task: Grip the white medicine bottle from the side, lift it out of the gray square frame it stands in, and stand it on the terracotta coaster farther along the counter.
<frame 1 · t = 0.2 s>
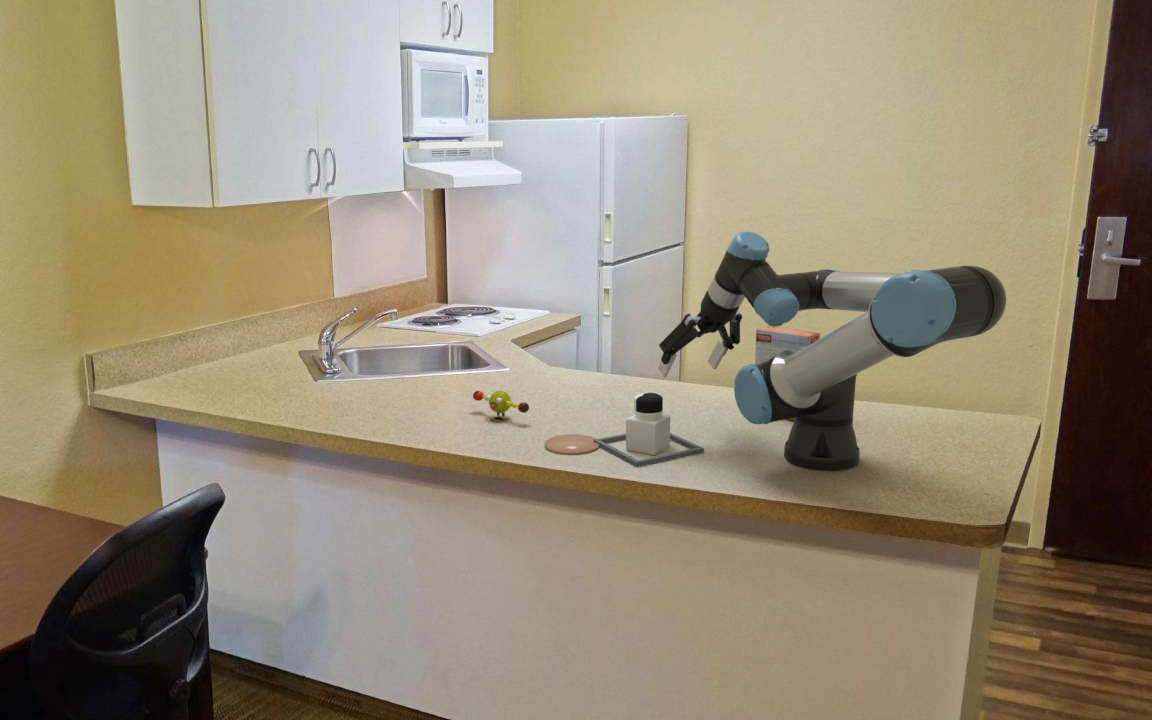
hand: (687, 368, 213), 15 cm above the worktop, tool tilted 35°, fingers open, 13 cm apart
medicine bottle: (648, 449, 206), resting in gray square frame
toy figure: (500, 419, 228), on the worktop
cracker box: (784, 416, 228), on the worktop
gray square frame: (648, 448, 206), on the worktop
coaster: (572, 445, 208), on the worktop
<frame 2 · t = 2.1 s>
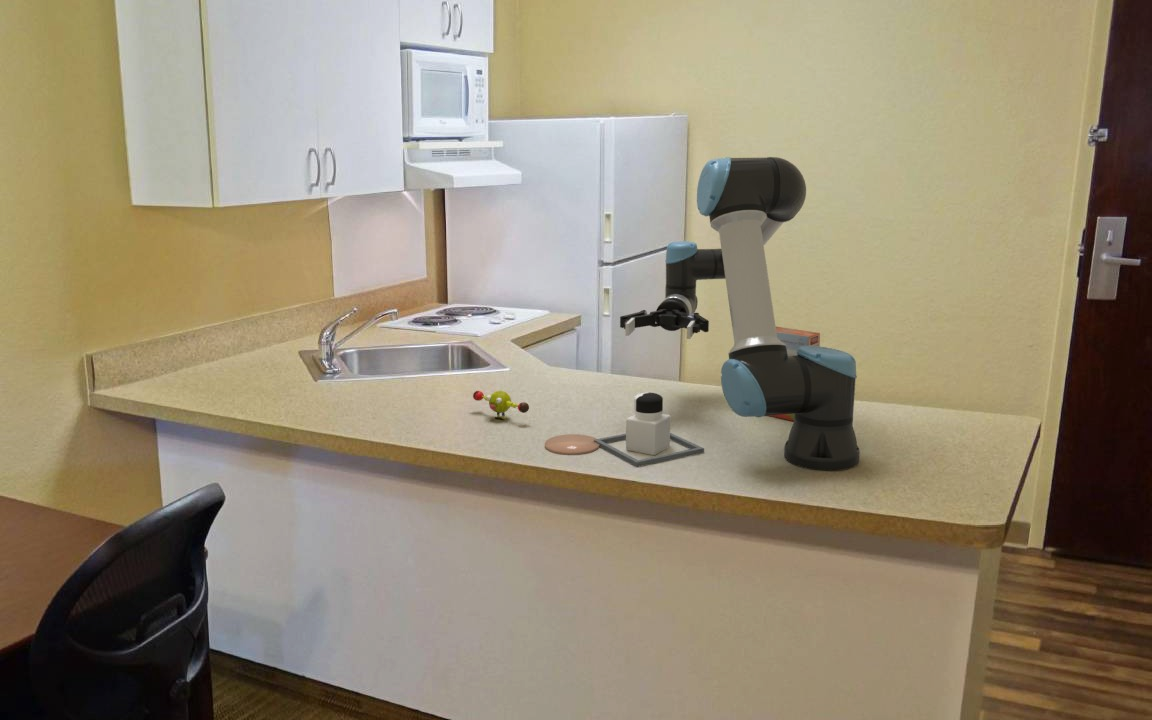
hand: (657, 331, 209), 24 cm above the worktop, tool horizontal, fingers open, 13 cm apart
nothing on the worktop moved.
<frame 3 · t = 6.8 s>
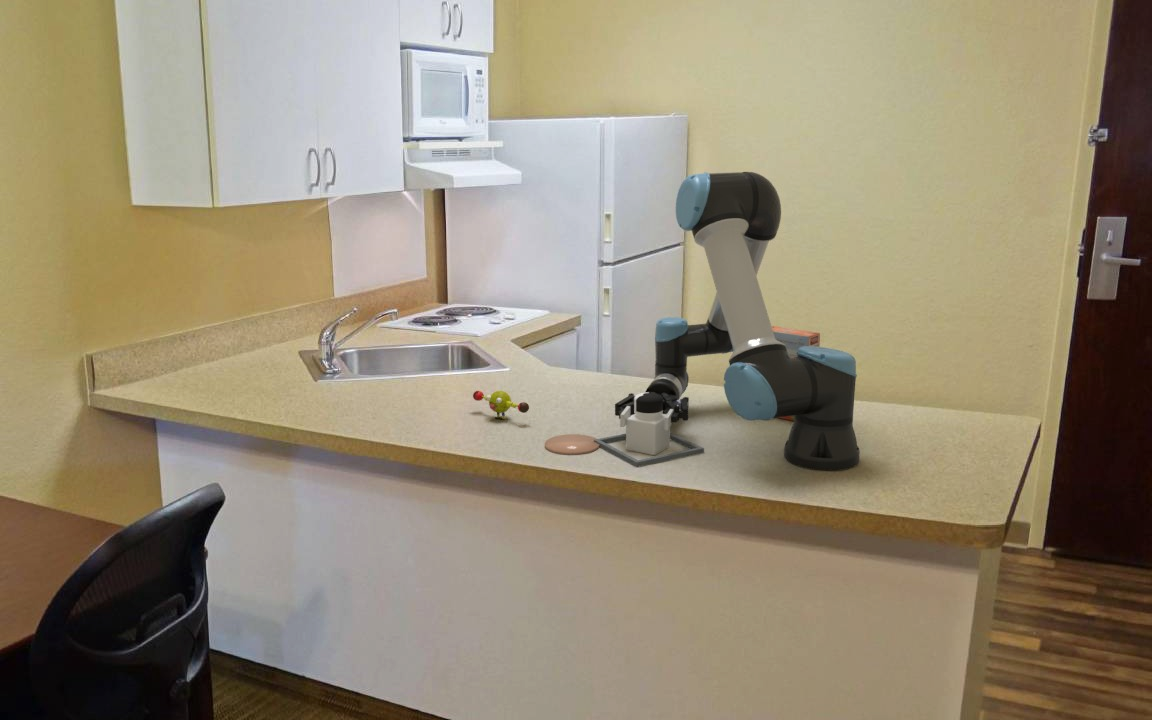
hand: (644, 422, 200), 7 cm above the worktop, tool horizontal, fingers closed on medicine bottle, 9 cm apart
medicine bottle: (648, 449, 206), resting in gray square frame, touching gripper
everything else where it was.
when the fingers open (9 cm above the worktop, at t = 12.0 s): medicine bottle stays where it is, resting on coaster.
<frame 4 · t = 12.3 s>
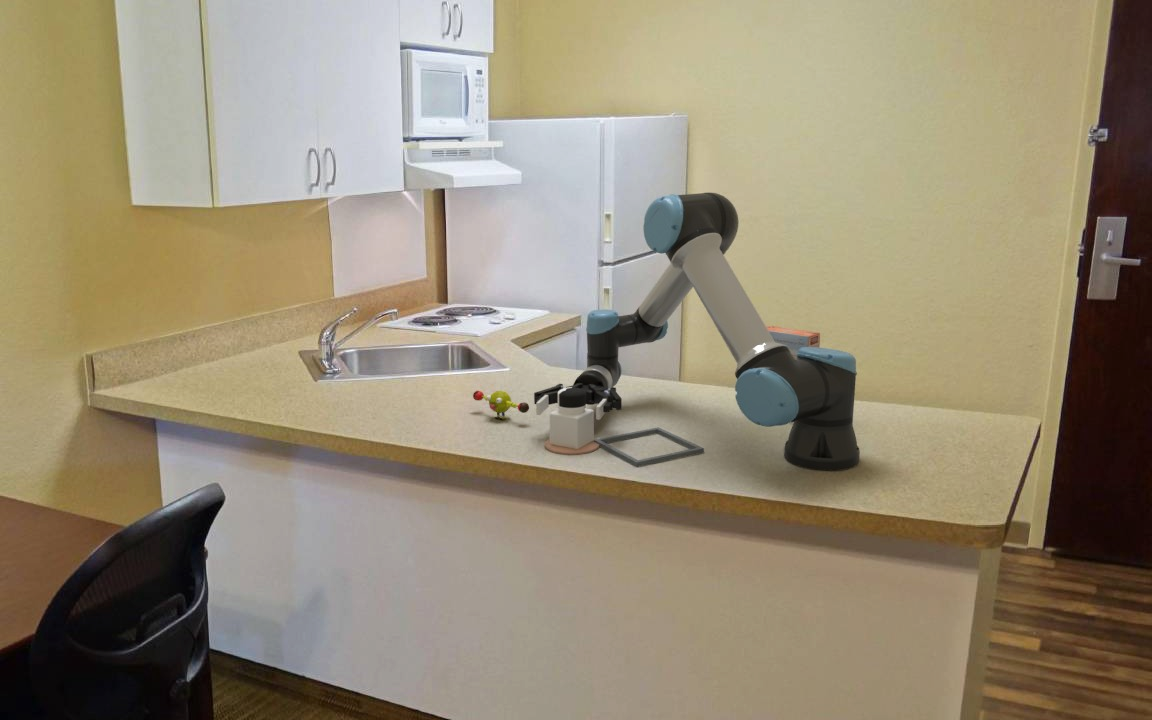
hand: (567, 411, 203), 9 cm above the worktop, tool horizontal, fingers open, 12 cm apart
medicine bottle: (572, 443, 208), resting on coaster
everything else where it was.
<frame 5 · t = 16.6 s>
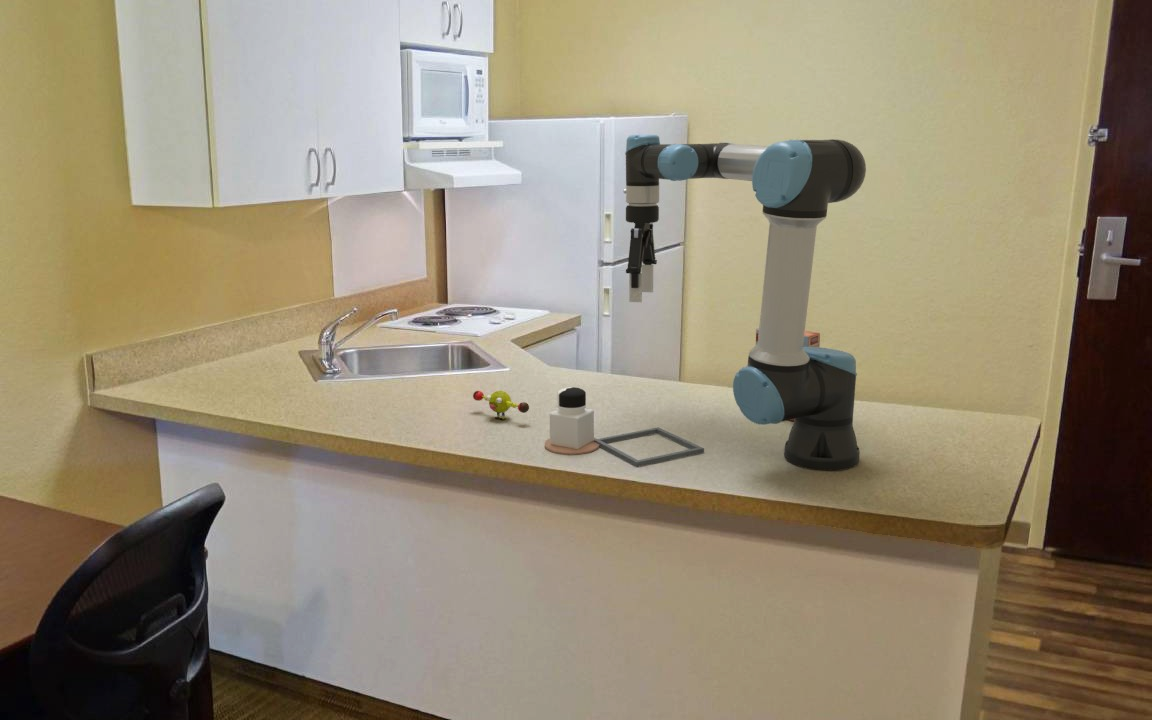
hand: (641, 297, 223), 29 cm above the worktop, tool pointing down, fingers open, 13 cm apart
nothing on the worktop moved.
at the end: medicine bottle 0.1 cm from the coaster (horizontally); medicine bottle tilted 0°; the gripper is holding nothing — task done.
